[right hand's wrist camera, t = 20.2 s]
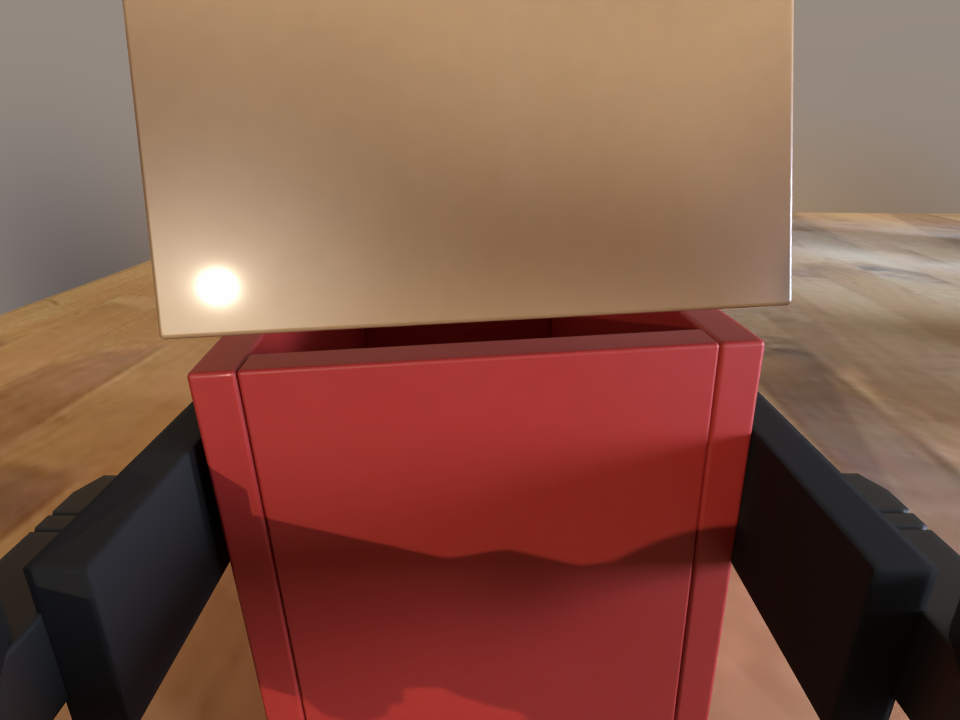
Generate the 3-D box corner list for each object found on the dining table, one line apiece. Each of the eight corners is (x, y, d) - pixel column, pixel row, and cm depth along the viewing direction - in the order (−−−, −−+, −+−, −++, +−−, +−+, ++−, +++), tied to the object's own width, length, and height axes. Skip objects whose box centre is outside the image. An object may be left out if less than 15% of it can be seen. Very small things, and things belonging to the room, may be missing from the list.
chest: (360, 430, 27) (334, 212, 24) (563, 417, 28) (568, 201, 24) (281, 791, 13) (183, 374, 9) (705, 751, 13) (768, 341, 10)
